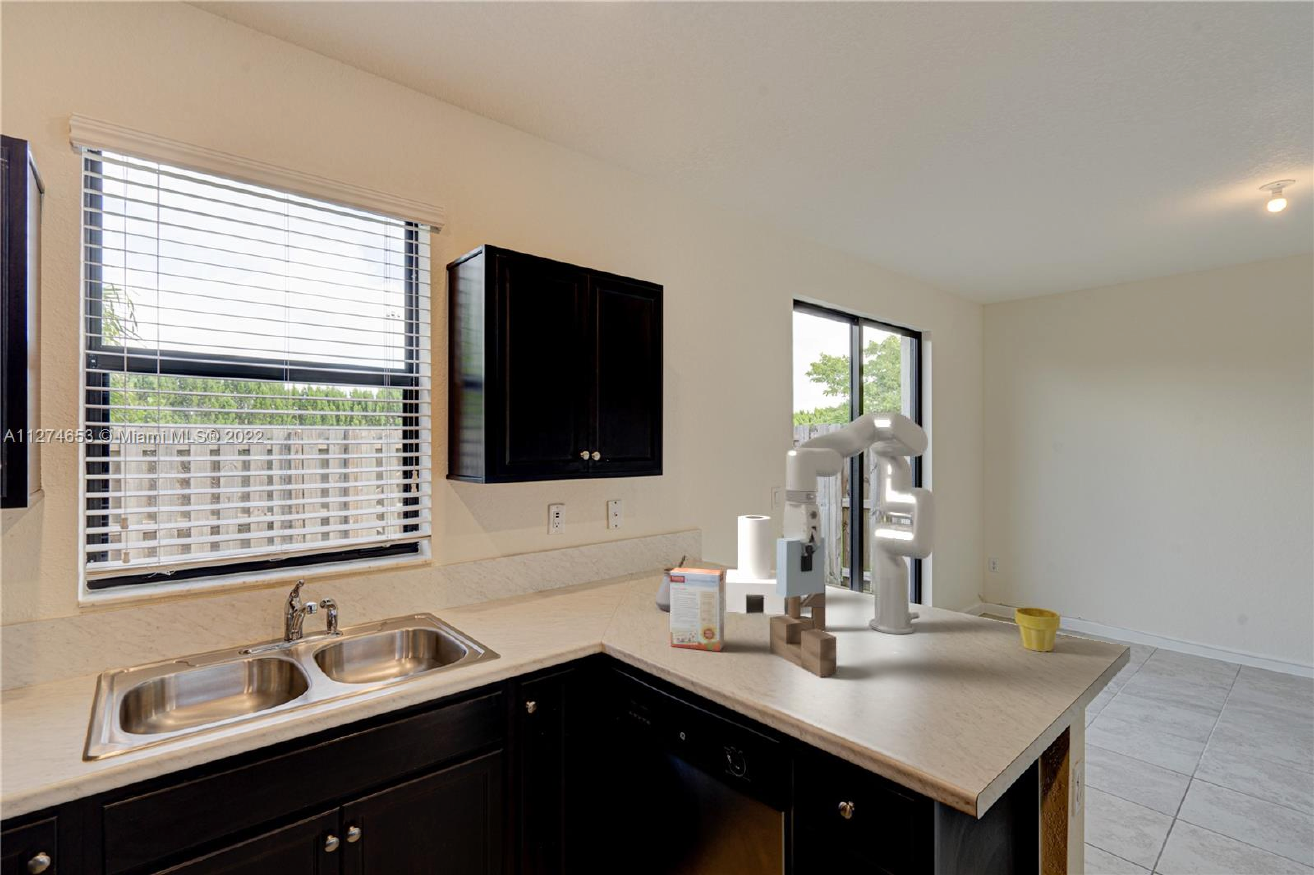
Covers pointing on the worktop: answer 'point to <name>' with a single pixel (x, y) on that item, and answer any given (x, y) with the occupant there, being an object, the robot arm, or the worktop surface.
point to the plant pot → (1037, 627)
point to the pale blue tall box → (798, 569)
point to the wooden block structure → (816, 611)
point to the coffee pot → (666, 588)
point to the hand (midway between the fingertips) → (800, 568)
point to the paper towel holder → (753, 567)
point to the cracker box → (697, 608)
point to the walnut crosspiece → (803, 646)
